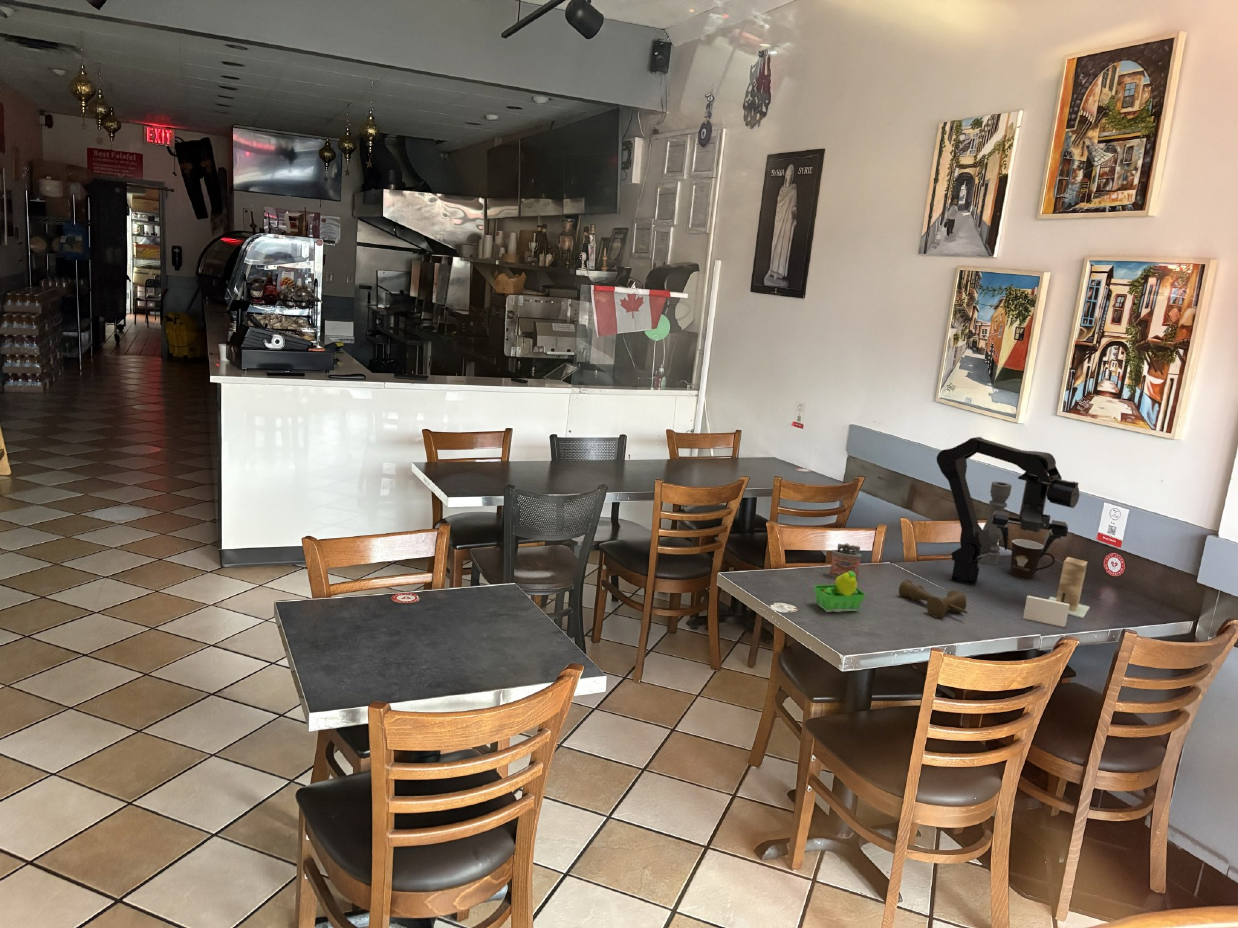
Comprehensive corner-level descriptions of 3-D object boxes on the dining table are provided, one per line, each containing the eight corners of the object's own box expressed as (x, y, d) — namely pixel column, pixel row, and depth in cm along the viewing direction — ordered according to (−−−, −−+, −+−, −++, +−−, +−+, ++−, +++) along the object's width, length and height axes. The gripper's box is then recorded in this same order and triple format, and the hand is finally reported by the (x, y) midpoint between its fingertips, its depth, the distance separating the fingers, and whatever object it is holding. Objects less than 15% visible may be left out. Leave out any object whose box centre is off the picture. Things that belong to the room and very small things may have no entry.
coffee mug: (999, 571, 270) (1005, 540, 268) (1020, 569, 274) (1026, 538, 272) (1031, 585, 260) (1038, 553, 258) (1052, 583, 264) (1058, 551, 261)
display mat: (1042, 607, 243) (1043, 605, 243) (1050, 597, 251) (1050, 596, 251) (1083, 618, 238) (1083, 616, 237) (1089, 608, 246) (1089, 606, 245)
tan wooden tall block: (1054, 606, 244) (1064, 561, 241) (1058, 601, 248) (1067, 556, 245) (1074, 611, 241) (1084, 566, 238) (1078, 606, 245) (1087, 561, 242)
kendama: (913, 594, 246) (977, 620, 230) (890, 601, 241) (954, 627, 225) (916, 574, 245) (980, 598, 229) (892, 579, 240) (957, 604, 224)
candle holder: (999, 565, 276) (1014, 487, 270) (978, 563, 277) (993, 485, 271) (995, 559, 282) (1010, 483, 276) (975, 556, 283) (989, 480, 277)
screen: (1023, 618, 234) (1027, 596, 233) (1023, 616, 235) (1027, 595, 234) (1065, 627, 230) (1069, 605, 229) (1064, 625, 231) (1069, 603, 230)
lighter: (828, 577, 253) (833, 543, 251) (829, 573, 256) (834, 540, 254) (857, 582, 251) (862, 548, 248) (858, 578, 254) (863, 545, 252)
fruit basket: (848, 601, 236) (854, 561, 233) (867, 615, 227) (873, 573, 225) (810, 603, 232) (815, 562, 229) (827, 617, 224) (833, 574, 221)
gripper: (996, 498, 239) (986, 554, 242) (1074, 511, 232) (1062, 568, 235) (997, 490, 249) (987, 543, 252) (1071, 502, 242) (1060, 556, 245)
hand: (1023, 553), depth 246 cm, fingers open, 9 cm apart
